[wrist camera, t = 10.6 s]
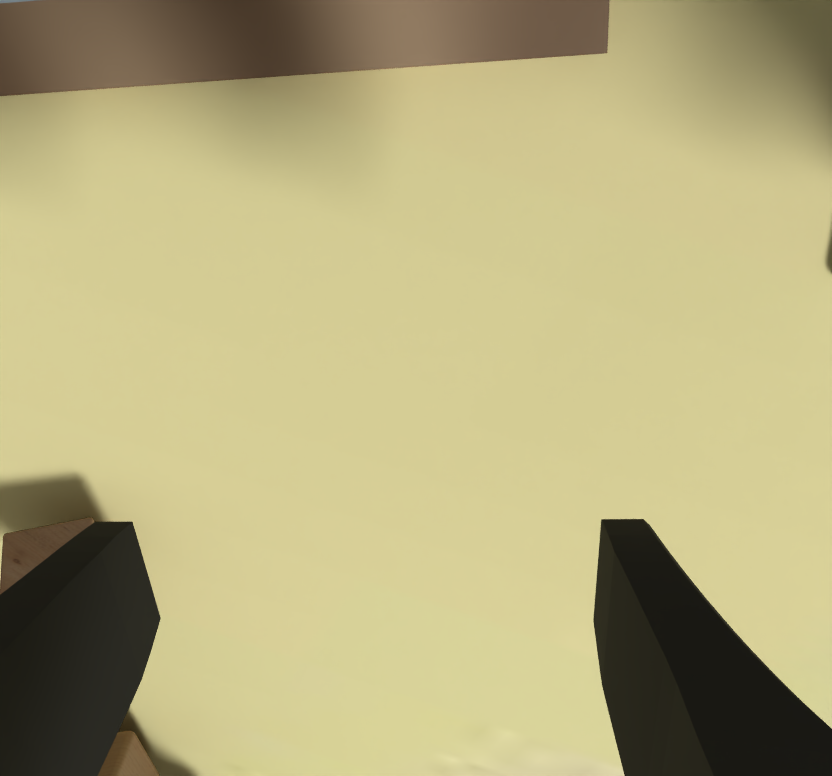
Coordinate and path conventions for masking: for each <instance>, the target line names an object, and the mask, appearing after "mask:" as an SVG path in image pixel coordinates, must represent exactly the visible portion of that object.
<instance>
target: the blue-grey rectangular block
mask: <svg viewBox="0 0 832 776" xmlns="http://www.w3.org/2000/svg"><path fill="white" fill-rule="evenodd" d="M24 1H36V0H0V3H11V2H24Z"/></svg>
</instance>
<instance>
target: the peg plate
mask: <svg viewBox="0 0 832 776" xmlns="http://www.w3.org/2000/svg"><path fill="white" fill-rule="evenodd" d="M608 22H609V0H36V1H24V2H11V3H0V96H7V95H21V94H35V93H49V92H63V91H78V90H92V89H106V88H120V87H134V86H148V85H163V84H177V83H191V82H205V81H219V80H233V79H248V78H262V77H276V76H290V75H304V74H319V73H333V72H347V71H361V70H375V69H389V68H404V67H418V66H432V65H446V64H460V63H474V62H489V61H503V60H517V59H531V58H545V57H560V56H574V55H588V54H602V53H607V46H608Z"/></svg>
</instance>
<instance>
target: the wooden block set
mask: <svg viewBox="0 0 832 776" xmlns="http://www.w3.org/2000/svg"><path fill="white" fill-rule="evenodd" d="M94 522H95V521H94V519H93V518H91V517H89V518H84V519H79V520H73V521H68V522H63V523H58V524H53V525H47V526H42V527H37V528H32V529H27V530H21V531H16V532H11V533H6V534H4V536H3V548H2V564H1V581H0V594H2V593H3V592H4V591H6V590H7V589H8V588H9V587H11V586H12V585H13V584H15V583H16V582H17V581H18V580H20V579H21V578H22V577H24V576H25V575H26V574H27V573H29V572H30V571H31V570H32V569H34V568H35V567H36V566H37V565H39V564H40V563H41V562H43V561H44V560H45V559H46V558H48V557H49V556H50V555H51V554H53V553H54V552H55V551H57V550H58V549H59V548H60V547H62V546H63V545H64V544H65V543H67V542H68V541H69V540H71V539H72V538H73V537H75V536H76V535H77V534H79V533H80V532H81V531H83V530H84V529H86V528H87V527H88V526H90V525H91V524H93V523H94ZM98 776H160V775H159V773H158V771H157V770H156V768H155V766H154V765H153V763H152V761H151V759H150V758H149V756H148V754H147V753H146V751H145V749H144V748H143V746H142V744H141V742H140V741H139V739H138V737H137V736H136V734H135V733H134V732H133V731H122V732H118V733H117V735H116V737H115V739H114V742H113V744H112V746H111V748H110V750H109V752H108V754H107V757H106V759H105V761H104V763H103V765H102V767H101V770H100V772H99V774H98Z"/></svg>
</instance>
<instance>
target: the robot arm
mask: <svg viewBox="0 0 832 776" xmlns="http://www.w3.org/2000/svg"><path fill="white" fill-rule="evenodd" d="M159 622H160V615H159V611H158V608H157V604H156V601H155V598H154V594H153V591H152V587H151V584H150V580H149V577H148V574H147V570H146V567H145V563H144V560H143V556H142V553H141V550H140V546H139V543H138V539H137V536H136V533H135V529H134V526H133V522H94V523H93V524H91V525H90V526H88V527H87V528H86V529H84V530H83V531H81V532H80V533H79V534H77V535H76V536H75V537H73V538H72V539H71V540H69V541H68V542H67V543H65V544H64V545H63V546H62V547H60V548H59V549H58V550H57V551H55V552H54V553H53V554H51V555H50V556H49V557H48V558H46V559H45V560H44V561H43V562H41V563H40V564H39V565H37V566H36V567H35V568H34V569H32V570H31V571H30V572H29V573H27V574H26V575H25V576H24V577H22V578H21V579H20V580H18V581H17V582H16V583H15V584H13V585H12V586H11V587H9V588H8V589H7V590H6V591H4V592H3V593H2V594H0V776H98V774H99V772H100V770H101V767H102V765H103V763H104V761H105V759H106V757H107V754H108V752H109V750H110V748H111V746H112V744H113V742H114V739H115V737H116V735H117V733H118V731H119V729H120V726H121V724H122V722H123V720H124V718H125V715H126V713H127V711H128V709H129V707H130V704H131V702H132V700H133V698H134V696H135V693H136V691H137V689H138V687H139V684H140V682H141V680H142V677H143V674H144V671H145V668H146V665H147V662H148V658H149V655H150V652H151V649H152V646H153V642H154V639H155V635H156V632H157V629H158V625H159ZM594 628H595V636H596V644H597V651H598V659H599V666H600V673H601V680H602V686H603V690H604V695H605V699H606V703H607V707H608V711H609V715H610V719H611V723H612V727H613V731H614V735H615V739H616V743H617V747H618V751H619V755H620V759H621V763H622V767H623V771H624V774H625V776H832V729H831V728H830V727H829V726H828V725H827V724H826V723H825V722H824V721H823V720H822V719H820V718H819V717H818V716H817V715H816V714H815V713H814V712H813V711H812V710H811V709H809V708H808V707H807V706H806V705H805V704H804V703H803V702H802V701H801V700H800V699H799V698H798V697H797V696H796V695H795V694H794V693H793V692H792V691H791V690H790V689H789V688H788V687H787V686H786V685H785V684H784V683H783V682H782V681H781V680H780V679H779V678H778V677H777V676H776V675H775V674H774V673H773V672H772V671H771V670H770V669H769V668H768V667H767V666H766V665H765V664H764V663H763V662H762V661H761V660H760V659H759V658H758V657H757V656H756V654H755V653H754V652H753V651H752V650H751V649H750V648H749V647H748V646H747V645H746V644H745V643H744V642H743V640H742V639H741V638H740V637H739V636H738V635H737V634H736V633H735V632H734V631H733V629H732V628H731V627H730V626H729V625H728V624H727V622H726V621H725V620H724V619H723V618H722V617H721V615H720V614H719V613H718V612H717V611H716V610H715V608H714V607H713V606H712V605H711V604H710V603H709V601H708V600H707V599H706V598H705V597H704V595H703V594H702V593H701V592H700V591H699V589H698V588H697V587H696V586H695V584H694V583H693V582H692V581H691V579H690V578H689V577H688V576H687V574H686V573H685V572H684V571H683V569H682V568H681V567H680V565H679V564H678V563H677V562H676V560H675V559H674V558H673V556H672V555H671V554H670V552H669V551H668V550H667V548H666V547H665V546H664V544H663V543H662V541H661V540H660V539H659V537H658V536H657V535H656V533H655V532H654V530H653V529H652V528H651V526H650V525H649V524H648V523H647V522H646V521H645V520H644V519H601V532H600V544H599V557H598V570H597V583H596V595H595V608H594Z"/></svg>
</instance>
